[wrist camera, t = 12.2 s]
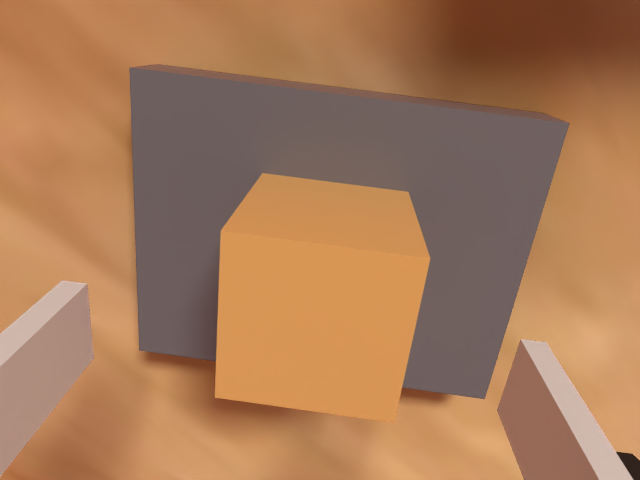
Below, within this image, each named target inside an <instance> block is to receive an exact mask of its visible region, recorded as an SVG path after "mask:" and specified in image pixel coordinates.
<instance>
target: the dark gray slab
mask: <svg viewBox="0 0 640 480" xmlns="http://www.w3.org/2000/svg"><path fill="white" fill-rule="evenodd" d="M130 94H131V123H132V152H133V181H134V209H135V238H136V267H137V296H138V325H139V350H140V351H147V352H154V353H161V354H169V355H176V356H183V357H190V358H197V359H204V360H211V361H216V349H217V320H218V292H219V264H220V236H221V230H222V228H223V227H224V225H225V224H226V223H227V221H228V220H229V219H230V217H231V216H232V214H233V213H234V212H235V210H236V209H237V208H238V206H239V205H240V203H241V202H242V201H243V199H244V198H245V197H246V195H247V194H248V192H249V191H250V190H251V188H252V187H253V186H254V184H255V183H256V181H257V180H258V179H259V177H260V176H261V175H262V173H266V174H273V175H281V176H289V177H297V178H305V179H312V180H320V181H328V182H336V183H343V184H351V185H359V186H367V187H375V188H382V189H390V190H398V191H406V192H409V195H410V198H411V201H412V204H413V207H414V210H415V213H416V216H417V219H418V222H419V225H420V228H421V231H422V234H423V237H424V240H425V243H426V247H427V250H428V253H429V256H430V263H429V267H428V272H427V276H426V281H425V285H424V290H423V295H422V299H421V304H420V308H419V313H418V317H417V322H416V326H415V331H414V336H413V340H412V345H411V349H410V354H409V358H408V363H407V367H406V372H405V377H404V381H403V386H402V388H410V389H417V390H424V391H431V392H438V393H445V394H452V395H459V396H466V397H473V398H480V399H485V396H486V393H487V390H488V387H489V383H490V380H491V377H492V374H493V370H494V367H495V364H496V361H497V357H498V354H499V351H500V348H501V344H502V341H503V338H504V334H505V331H506V328H507V325H508V321H509V318H510V315H511V312H512V308H513V305H514V302H515V299H516V295H517V292H518V289H519V286H520V282H521V279H522V276H523V273H524V269H525V266H526V263H527V260H528V256H529V253H530V250H531V247H532V243H533V240H534V237H535V234H536V230H537V227H538V224H539V221H540V217H541V214H542V211H543V208H544V204H545V201H546V198H547V195H548V191H549V188H550V185H551V182H552V178H553V175H554V172H555V169H556V165H557V162H558V159H559V156H560V152H561V149H562V146H563V143H564V139H565V136H566V133H567V129H568V126H569V123H568V122H565V121H562V120H560V119H557V118H555V117H552V116H550V115H547V114H544V113H539V112H531V111H523V110H515V109H507V108H499V107H492V106H484V105H476V104H468V103H460V102H452V101H444V100H436V99H428V98H420V97H412V96H404V95H397V94H389V93H381V92H373V91H365V90H357V89H349V88H341V87H333V86H325V85H317V84H309V83H302V82H294V81H286V80H278V79H270V78H262V77H254V76H246V75H238V74H230V73H222V72H214V71H207V70H199V69H191V68H183V67H175V66H167V65H159V64H156V65H147V66H138V67H130Z"/></svg>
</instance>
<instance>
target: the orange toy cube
mask: <svg viewBox="0 0 640 480" xmlns="http://www.w3.org/2000/svg"><path fill="white" fill-rule="evenodd" d="M429 263H430V256H429V253H428V250H427V247H426V243H425V240H424V237H423V234H422V231H421V228H420V225H419V222H418V219H417V216H416V213H415V210H414V207H413V204H412V201H411V198H410V195H409V192H406V191H398V190H390V189H382V188H375V187H367V186H359V185H351V184H343V183H336V182H328V181H320V180H312V179H305V178H297V177H289V176H281V175H273V174H266V173H262V175H261V176H260V177H259V179H258V180H257V181H256V183H255V184H254V186H253V187H252V188H251V190H250V191H249V192H248V194H247V195H246V197H245V198H244V199H243V201H242V202H241V203H240V205H239V206H238V208H237V209H236V210H235V212H234V213H233V214H232V216H231V217H230V219H229V220H228V221H227V223H226V224H225V225H224V227H223V228H222V230H221V236H220V264H219V292H218V320H217V349H216V377H215V398H221V399H229V400H236V401H243V402H250V403H257V404H264V405H271V406H278V407H285V408H292V409H300V410H307V411H314V412H321V413H328V414H335V415H342V416H349V417H356V418H363V419H371V420H378V421H385V422H392V423H394V422H395V418H396V413H397V409H398V404H399V399H400V395H401V390H402V386H403V381H404V377H405V372H406V367H407V363H408V358H409V354H410V349H411V345H412V340H413V336H414V331H415V326H416V322H417V317H418V313H419V308H420V304H421V299H422V295H423V290H424V285H425V281H426V276H427V272H428V267H429Z"/></svg>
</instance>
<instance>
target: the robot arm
mask: <svg viewBox="0 0 640 480" xmlns="http://www.w3.org/2000/svg"><path fill="white" fill-rule="evenodd" d="M93 359H94V355H93V343H92V332H91V320H90V309H89V297H88V286H87V283H79V282H71V281H63V280H62V281H61V282H60V283H59V284H57V285H56V286H55V287H54V288H53V289H52V290H50V291H49V292H48V293H47V294H46V295H45V296H43V297H42V298H41V299H40V300H39V301H38V302H36V303H35V304H34V305H33V306H32V307H31V308H29V309H28V310H27V311H26V312H25V313H24V314H23V315H21V316H20V317H19V318H18V319H17V320H16V321H14V322H13V323H12V324H11V325H10V326H9V327H7V328H6V329H5V330H4V331H3V332H2V333H0V477H1V475H2V474H3V473H4V472H5V470H6V469H7V468H8V467H9V465H10V464H11V463H12V461H13V460H14V459H15V458H16V456H17V455H18V454H19V453H20V451H21V450H22V449H23V448H24V446H25V445H26V444H27V442H28V441H29V440H30V439H31V437H32V436H33V435H34V434H35V432H36V431H37V430H38V428H39V427H40V426H41V425H42V423H43V422H44V421H45V420H46V418H47V417H48V416H49V414H50V413H51V412H52V411H53V409H54V408H55V407H56V406H57V404H58V403H59V402H60V401H61V399H62V398H63V397H64V395H65V394H66V393H67V392H68V390H69V389H70V388H71V387H72V385H73V384H74V383H75V381H76V380H77V379H78V378H79V376H80V375H81V374H82V373H83V371H84V370H85V369H86V367H87V366H88V365H89V364H90V362H91V361H92V360H93ZM497 411H498V414H499V416H500V419H501V422H502V424H503V427H504V429H505V432H506V434H507V437H508V439H509V442H510V445H511V447H512V450H513V452H514V455H515V457H516V460H517V463H518V465H519V468H520V470H521V473H522V475H523V478H524V480H640V460H638V459H637V458H636V457H635V456H634V455H633V454H629V453H622V452H615V450H614V448H613V447H612V445H611V444H610V442H609V441H608V439H607V437H606V436H605V434H604V433H603V431H602V429H601V428H600V426H599V425H598V423H597V422H596V420H595V418H594V417H593V415H592V414H591V412H590V411H589V409H588V407H587V406H586V404H585V403H584V401H583V400H582V398H581V396H580V395H579V393H578V392H577V390H576V388H575V387H574V385H573V384H572V382H571V381H570V379H569V377H568V376H567V374H566V373H565V371H564V370H563V368H562V366H561V365H560V363H559V362H558V360H557V359H556V357H555V355H554V354H553V352H552V351H551V349H550V347H549V346H548V344H547V343H546V342H540V341H532V340H524V339H521V340H520V343H519V346H518V349H517V352H516V355H515V358H514V361H513V364H512V367H511V370H510V373H509V376H508V379H507V382H506V385H505V388H504V391H503V394H502V397H501V400H500V403H499V406H498V409H497Z"/></svg>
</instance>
